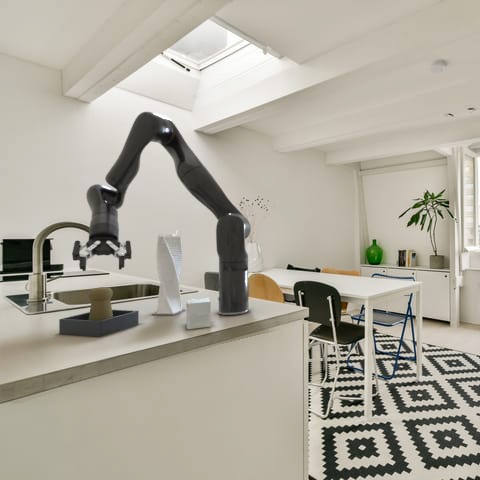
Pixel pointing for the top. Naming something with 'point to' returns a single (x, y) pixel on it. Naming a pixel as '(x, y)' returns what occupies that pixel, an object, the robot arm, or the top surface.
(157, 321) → the top surface
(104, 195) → the robot arm
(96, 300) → the cork
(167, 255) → the skyscraper
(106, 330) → the basket
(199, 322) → the product box
